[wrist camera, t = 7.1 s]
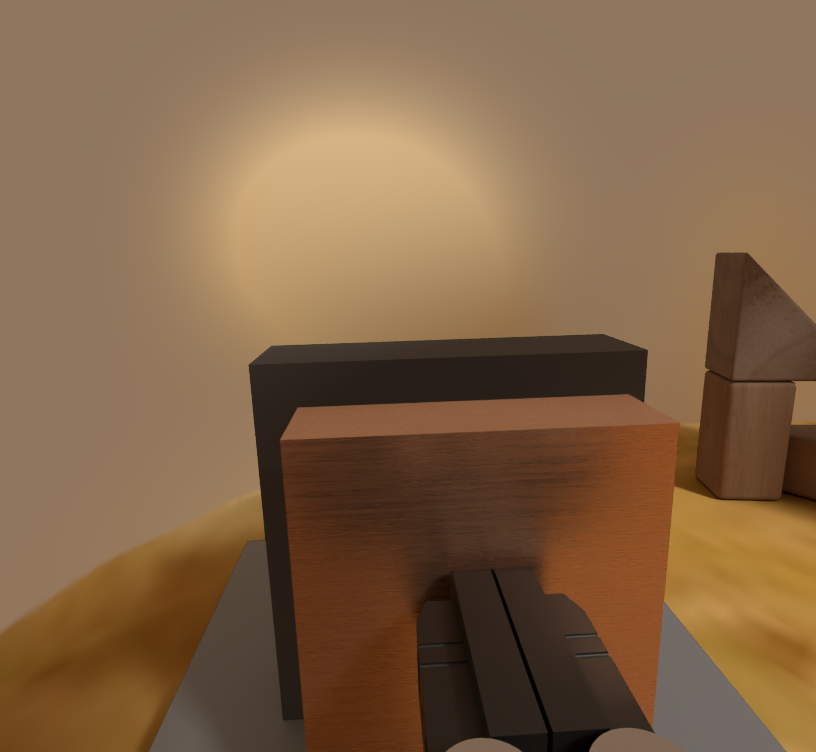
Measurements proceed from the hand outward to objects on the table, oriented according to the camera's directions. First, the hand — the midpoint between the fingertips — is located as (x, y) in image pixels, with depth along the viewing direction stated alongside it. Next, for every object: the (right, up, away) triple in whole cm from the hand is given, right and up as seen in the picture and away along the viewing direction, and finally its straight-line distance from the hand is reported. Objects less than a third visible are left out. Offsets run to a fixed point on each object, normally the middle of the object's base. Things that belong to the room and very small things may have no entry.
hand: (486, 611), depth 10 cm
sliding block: (0, -2, +8) cm, 8 cm away
